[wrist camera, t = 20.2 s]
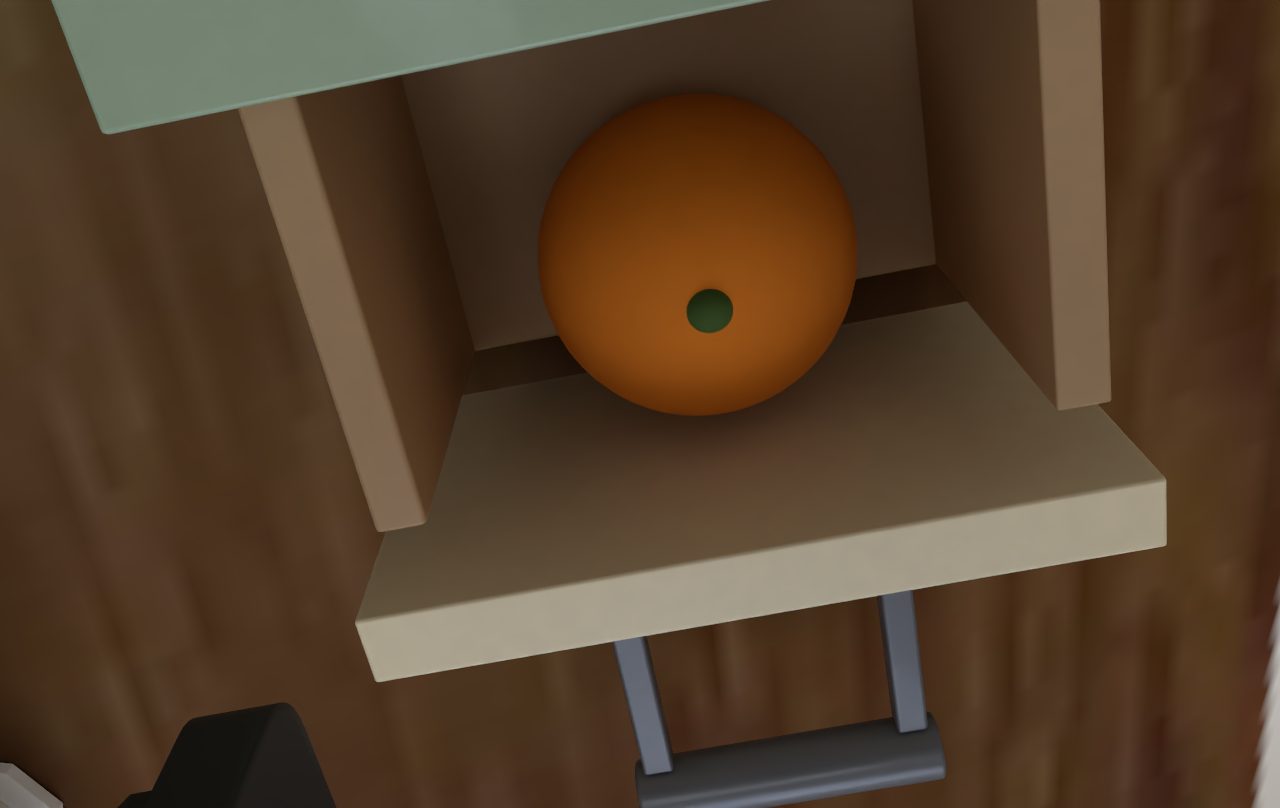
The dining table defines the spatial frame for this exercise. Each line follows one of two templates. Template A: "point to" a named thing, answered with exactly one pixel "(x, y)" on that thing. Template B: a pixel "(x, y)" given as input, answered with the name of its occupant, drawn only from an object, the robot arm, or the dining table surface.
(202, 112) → the cabinet
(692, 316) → the orange
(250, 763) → the robot arm
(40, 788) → the cup
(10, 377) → the dining table surface
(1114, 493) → the drawer
